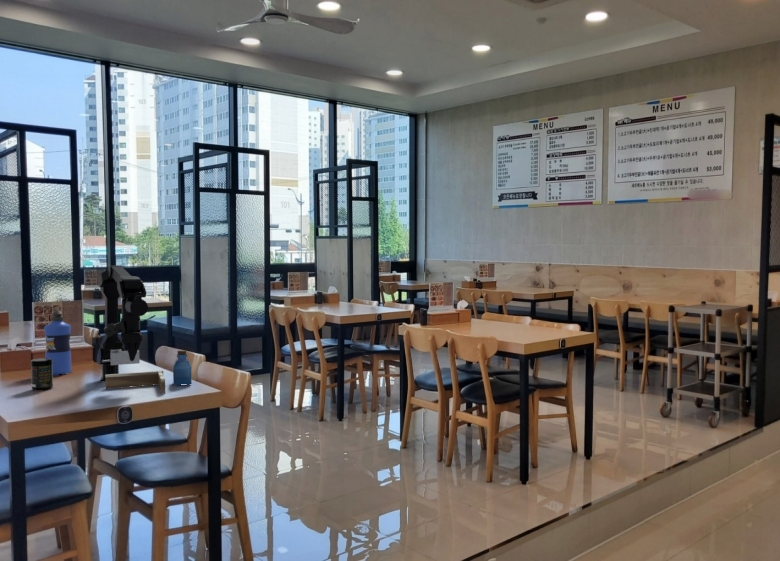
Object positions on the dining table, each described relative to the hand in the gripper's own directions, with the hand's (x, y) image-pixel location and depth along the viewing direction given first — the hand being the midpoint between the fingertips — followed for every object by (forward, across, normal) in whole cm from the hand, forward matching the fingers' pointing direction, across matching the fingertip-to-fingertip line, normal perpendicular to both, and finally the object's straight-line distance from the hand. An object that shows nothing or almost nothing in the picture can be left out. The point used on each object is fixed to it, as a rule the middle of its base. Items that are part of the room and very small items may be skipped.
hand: (131, 359), depth 220 cm
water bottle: (+11, -51, -26) cm, 58 cm away
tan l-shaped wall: (+11, -2, +1) cm, 11 cm away
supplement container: (+11, -19, -29) cm, 36 cm away
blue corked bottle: (+11, -8, +17) cm, 22 cm away
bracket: (+1, -2, -2) cm, 3 cm away
